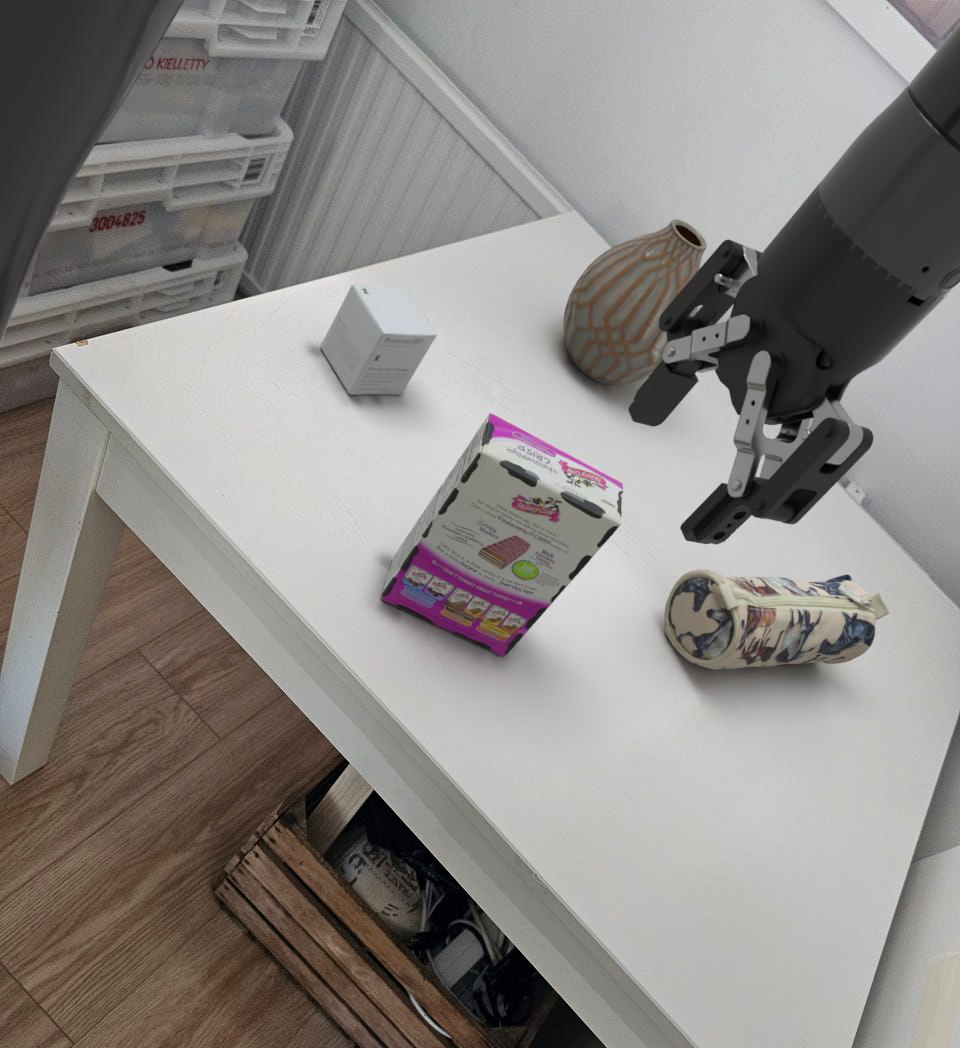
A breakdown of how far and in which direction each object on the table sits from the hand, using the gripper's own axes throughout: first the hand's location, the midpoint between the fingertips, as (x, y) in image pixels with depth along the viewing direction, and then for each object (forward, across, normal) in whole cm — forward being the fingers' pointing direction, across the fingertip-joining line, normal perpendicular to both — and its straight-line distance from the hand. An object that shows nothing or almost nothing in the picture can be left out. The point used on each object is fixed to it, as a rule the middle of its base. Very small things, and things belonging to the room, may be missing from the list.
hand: (667, 476), depth 56 cm
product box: (+27, -36, +1) cm, 45 cm away
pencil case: (+27, -10, +35) cm, 45 cm away
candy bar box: (+27, -10, +3) cm, 29 cm away
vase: (+27, -48, +32) cm, 63 cm away
